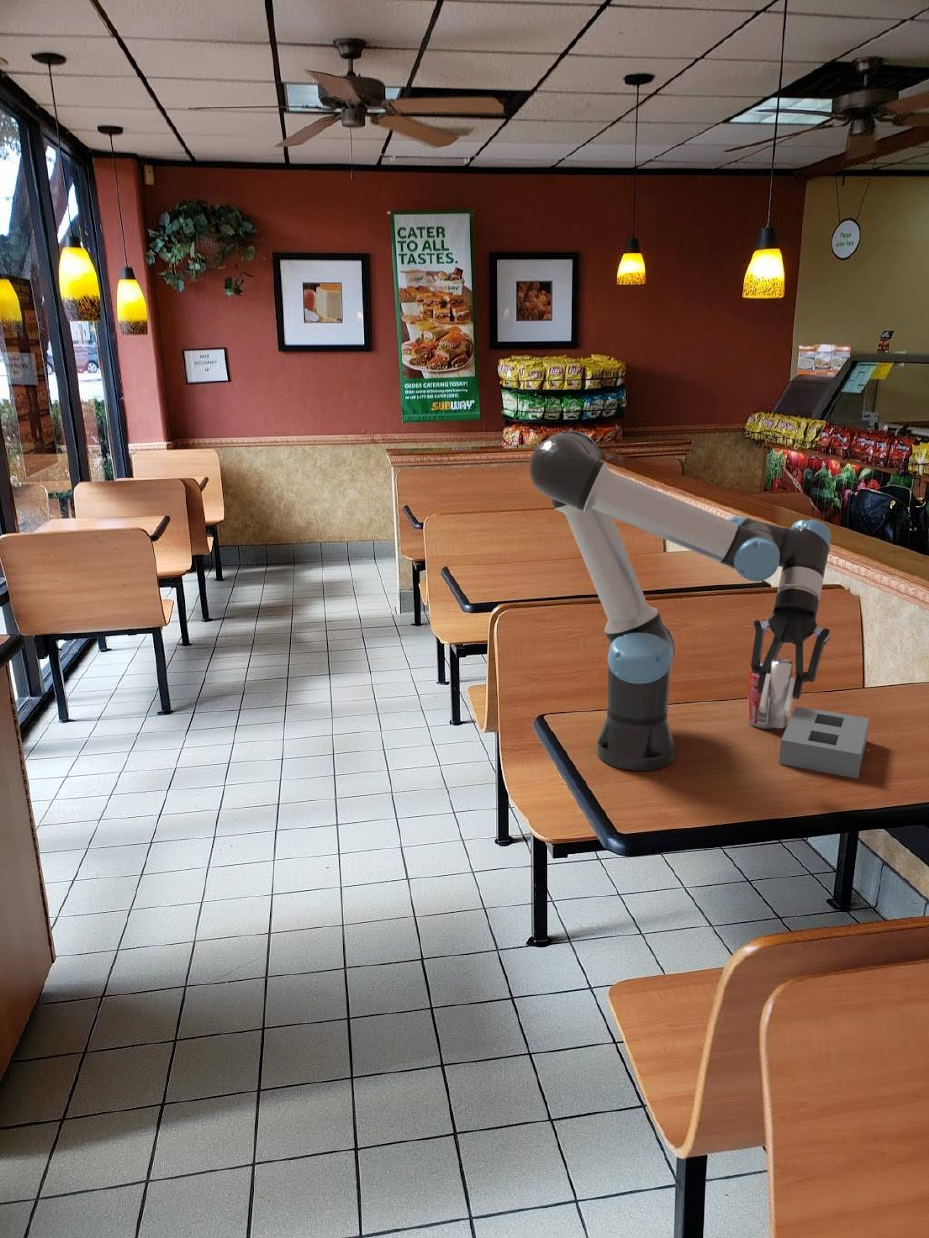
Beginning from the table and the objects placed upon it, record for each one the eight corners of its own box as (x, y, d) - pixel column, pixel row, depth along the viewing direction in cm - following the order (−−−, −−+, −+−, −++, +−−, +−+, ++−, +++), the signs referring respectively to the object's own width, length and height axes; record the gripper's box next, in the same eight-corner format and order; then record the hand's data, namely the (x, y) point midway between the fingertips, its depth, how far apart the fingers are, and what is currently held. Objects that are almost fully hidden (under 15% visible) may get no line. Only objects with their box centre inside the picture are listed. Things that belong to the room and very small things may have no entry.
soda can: (783, 731, 182) (789, 673, 178) (747, 729, 184) (752, 671, 180) (779, 717, 189) (784, 661, 185) (744, 715, 190) (749, 659, 186)
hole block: (778, 763, 168) (781, 739, 167) (793, 728, 183) (795, 706, 182) (857, 778, 162) (860, 754, 161) (866, 740, 177) (869, 718, 176)
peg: (764, 725, 158) (769, 663, 154) (768, 718, 161) (773, 657, 157) (785, 729, 156) (790, 666, 152) (788, 722, 159) (794, 660, 155)
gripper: (846, 612, 162) (825, 728, 153) (754, 602, 170) (729, 712, 161) (845, 591, 156) (824, 711, 147) (750, 582, 164) (724, 695, 155)
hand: (774, 711), depth 154 cm, fingers closed on peg, 3 cm apart
